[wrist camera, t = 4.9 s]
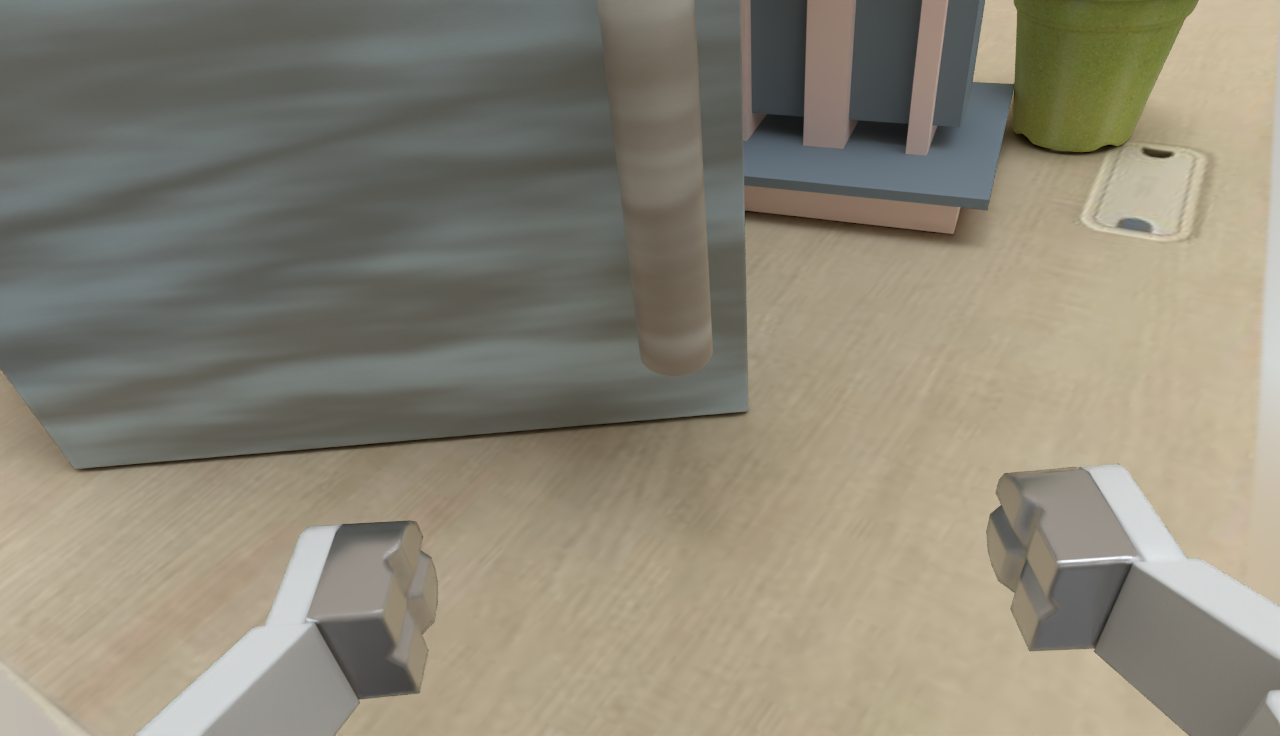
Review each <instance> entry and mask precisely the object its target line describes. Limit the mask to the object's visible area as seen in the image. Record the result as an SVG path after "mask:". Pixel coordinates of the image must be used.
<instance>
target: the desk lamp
mask: <svg viewBox="0 0 1280 736" xmlns="http://www.w3.org/2000/svg"><path fill="white" fill-rule="evenodd" d="M740 1H741V52H742V104H743V155H744V206H745V210H746V211H755V212H764V213H772V214H781V215H790V216H799V217H807V218H816V219H825V220H834V221H843V222H851V223H860V224H869V225H878V226H887V227H895V228H904V229H913V230H922V231H931V232H939V233H948V234H954V231H955V227H956V223H957V220H958V216H959V212H960V208H961V207H962V208H971V209H981V210H987V209H988V204H989V200H990V195H991V191H992V186H993V181H994V177H995V172H996V168H997V163H998V159H999V154H1000V149H1001V145H1002V140H1003V136H1004V131H1005V127H1006V122H1007V118H1008V113H1009V108H1010V104H1011V99H1012V95H1013V90H1014V84H999V83H979V82H973V75H974V69H975V62H976V56H977V49H978V43H979V37H980V30H981V24H982V17H983V11H984V4H985V0H740Z"/></svg>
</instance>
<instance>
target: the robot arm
mask: <svg viewBox="0 0 1280 736" xmlns="http://www.w3.org/2000/svg"><path fill="white" fill-rule="evenodd" d="M996 495H997V497H998V499H999V501H1000V503H1001V506H999V507H998V508H997V509H996V510H995V511H994V512H992V513H991V514H990V517H989V521H988V526H987V547H988V553H989V557H990V561H991V564H992V567H993V569H994V572H995V574H996V577H997V579H998V581H999V582H1000V583H1002V584H1003V585H1004V586H1006V587H1007V588H1009V589H1010V590H1011V591H1013V592H1014V593H1015V595H1014V598H1013V601H1012V605H1011V608H1010V609H1011V611H1012V613H1013V616H1014V618H1015V620H1016V622H1017V625H1018V627H1019V629H1020V631H1021V634H1022V636H1023V638H1024V640H1025V643H1026V645H1027V647H1028V649H1029V651H1046V650H1069V649H1092V648H1095V650H1094V652H1095V653H1096V654H1097V655H1098V656H1100V657H1101V658H1102V659H1103V660H1104V661H1105V662H1106V663H1107V664H1109V665H1110V666H1111V667H1112V668H1113V669H1114V670H1115V671H1117V672H1118V673H1119V674H1120V675H1121V676H1122V677H1123V678H1124V679H1126V680H1127V681H1128V682H1129V683H1130V684H1131V685H1132V686H1134V687H1135V688H1136V689H1137V690H1138V691H1139V692H1140V693H1141V694H1143V695H1144V696H1145V697H1146V698H1147V699H1148V700H1149V701H1151V702H1152V703H1153V704H1154V705H1155V706H1156V707H1157V708H1158V709H1160V710H1161V711H1162V712H1163V713H1164V714H1165V715H1166V716H1168V717H1169V718H1170V719H1171V720H1172V721H1173V722H1174V723H1175V724H1177V725H1178V726H1179V727H1180V728H1181V729H1182V730H1183V731H1185V732H1186V733H1187V734H1188V735H1189V736H1280V606H1279V605H1277V604H1275V603H1274V602H1272V601H1270V600H1268V599H1267V598H1265V597H1264V596H1262V595H1260V594H1259V593H1257V592H1255V591H1254V590H1252V589H1250V588H1249V587H1247V586H1245V585H1244V584H1242V583H1240V582H1239V581H1237V580H1235V579H1234V578H1232V577H1230V576H1229V575H1227V574H1225V573H1224V572H1222V571H1220V570H1219V569H1217V568H1215V567H1214V566H1212V565H1210V564H1209V563H1207V562H1205V561H1204V560H1202V559H1201V558H1187V557H1186V555H1185V554H1184V552H1183V551H1182V549H1181V548H1180V546H1179V545H1178V543H1177V542H1176V540H1175V539H1174V538H1173V536H1172V535H1171V533H1170V532H1169V530H1168V529H1167V527H1166V526H1165V524H1164V523H1163V522H1162V520H1161V519H1160V517H1159V516H1158V514H1157V513H1156V511H1155V510H1154V508H1153V507H1152V505H1151V504H1150V503H1149V501H1148V500H1147V498H1146V497H1145V495H1144V494H1143V492H1142V491H1141V489H1140V488H1139V486H1138V485H1137V484H1136V482H1135V481H1134V479H1133V478H1132V476H1131V475H1130V473H1129V472H1128V470H1127V469H1126V468H1124V467H1123V466H1121V465H1120V464H1109V465H1097V466H1085V467H1079V468H1077V467H1069V468H1058V469H1046V470H1035V471H1024V472H1013V473H1004V475H1003V476H1002V477H1001V478H1000V479H999V482H998V485H997V489H996ZM422 540H423V535H422V533H421V531H420V529H419V526H418V524H417V522H416V521H395V522H376V523H357V524H342V525H328V526H311V527H307V528H306V529H305V531H304V532H303V533H302V534H301V535H300V536H299V538H298V541H297V543H296V546H295V549H294V551H293V554H292V556H291V559H290V561H289V564H288V566H287V569H286V571H285V574H284V577H283V579H282V582H281V584H280V587H279V589H278V592H277V594H276V597H275V600H274V602H273V605H272V607H271V610H270V612H269V615H268V617H267V620H266V622H265V625H264V626H260V627H253V628H252V629H251V630H250V631H249V632H248V633H247V634H245V635H244V636H243V637H242V638H241V639H240V640H239V641H238V642H237V643H236V644H234V645H233V646H232V647H231V648H230V649H229V650H228V651H227V652H226V653H225V654H223V655H222V656H221V657H220V658H219V659H218V660H217V661H216V662H215V663H214V664H212V665H211V666H210V667H209V668H208V669H207V670H206V671H205V672H204V673H203V674H201V675H200V676H199V677H198V678H197V679H196V680H195V681H194V682H193V683H192V684H190V685H189V686H188V687H187V688H186V689H185V690H184V691H183V692H182V693H180V694H179V695H178V696H177V697H176V698H175V699H174V700H173V701H172V702H171V703H169V704H168V705H167V706H166V707H165V708H164V709H163V710H162V711H161V712H160V713H158V714H157V715H156V716H155V717H154V718H153V719H152V720H151V721H150V722H149V723H147V724H146V725H145V726H144V727H143V728H142V729H141V730H140V731H139V732H138V733H136V734H135V735H134V736H335V734H336V733H337V732H338V731H339V729H340V728H341V727H342V725H343V724H344V723H345V722H346V720H347V719H348V718H349V716H350V715H351V714H352V712H353V711H354V710H355V709H356V707H357V706H358V705H359V703H360V701H359V699H366V698H377V697H387V696H397V695H408V694H418V693H420V689H421V684H422V679H423V675H424V670H425V665H426V660H427V655H428V651H429V650H428V648H427V645H426V643H425V641H424V638H423V636H422V635H423V634H424V633H425V632H426V630H427V629H428V628H429V627H430V626H431V625H432V624H433V623H434V621H435V616H436V610H437V605H438V581H437V575H436V569H435V566H434V564H433V561H432V558H431V557H430V556H429V555H427V554H425V553H424V552H422V551H421V550H420V548H421V544H422Z"/></svg>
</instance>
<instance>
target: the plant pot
mask: <svg viewBox="0 0 1280 736" xmlns="http://www.w3.org/2000/svg"><path fill="white" fill-rule="evenodd" d="M1198 1H1199V0H1014V5H1015V7H1016V9H1017V37H1016V62H1015V83H1014V102H1013V121H1012V126H1013V130H1014V132H1015V133H1016V134H1021V133H1022V134H1024V135H1025V136H1026V137H1027V138H1028V139H1029V140H1030V141H1031V142H1032V143H1033V144H1035V145H1038V146H1041V147H1044V148H1048V149H1056V150H1064V151H1072V152H1090V151H1094V150H1097V149H1098V148H1100V147H1102V146H1105V145H1109V144H1112V145H1114V146H1120V145H1122V144H1124V143H1125V142H1126V141H1128V140H1129V138H1130V137H1131V135H1132V133H1133V131H1134V128H1135V126H1136V124H1137V122H1138V120H1139V118H1140V115H1141V113H1142V111H1143V109H1144V106H1145V104H1146V102H1147V99H1148V97H1149V95H1150V93H1151V91H1152V89H1153V87H1154V84H1155V82H1156V80H1157V78H1158V76H1159V74H1160V72H1161V69H1162V67H1163V65H1164V63H1165V61H1166V59H1167V57H1168V55H1169V52H1170V50H1171V48H1172V46H1173V44H1174V42H1175V40H1176V37H1177V35H1178V33H1179V31H1180V29H1181V27H1182V25H1183V22H1184V20H1185V18H1186V17H1187V16H1188V15H1190V14H1191V13H1192V11H1193V10H1194V8H1195V7H1196V5H1197V3H1198Z"/></svg>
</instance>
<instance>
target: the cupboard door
mask: <svg viewBox="0 0 1280 736" xmlns="http://www.w3.org/2000/svg"><path fill="white" fill-rule="evenodd" d="M0 369H1V370H2V372H3V373H4V374H5V376H6V377H7V378H8V380H9V381H10V382H11V384H12V385H13V386H14V388H15V389H16V390H17V392H18V393H19V394H20V396H21V397H22V399H23V400H24V401H25V403H26V404H27V405H28V407H29V408H30V409H31V411H32V412H33V413H34V415H35V416H36V417H37V419H38V420H39V421H40V423H41V424H42V426H43V427H44V428H45V430H46V431H47V432H48V434H49V435H50V436H51V438H52V439H53V440H54V442H55V443H56V444H57V446H58V447H59V448H60V450H61V451H62V453H63V454H64V455H65V457H66V458H67V459H68V461H69V462H70V463H71V465H72V466H73V467H74V468H75V469H81V468H93V467H105V466H116V465H128V464H140V463H151V462H163V461H175V460H186V459H198V458H210V457H221V456H233V455H245V454H256V453H268V452H280V451H291V450H303V449H314V448H326V447H338V446H349V445H361V444H373V443H384V442H396V441H408V440H419V439H431V438H443V437H454V436H466V435H478V434H489V433H501V432H513V431H524V430H536V429H548V428H559V427H571V426H583V425H594V424H606V423H618V422H629V421H641V420H652V419H664V418H676V417H687V416H699V415H711V414H722V413H734V412H746V411H748V360H747V309H746V258H745V206H744V155H743V104H742V52H741V1H740V0H0Z"/></svg>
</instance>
